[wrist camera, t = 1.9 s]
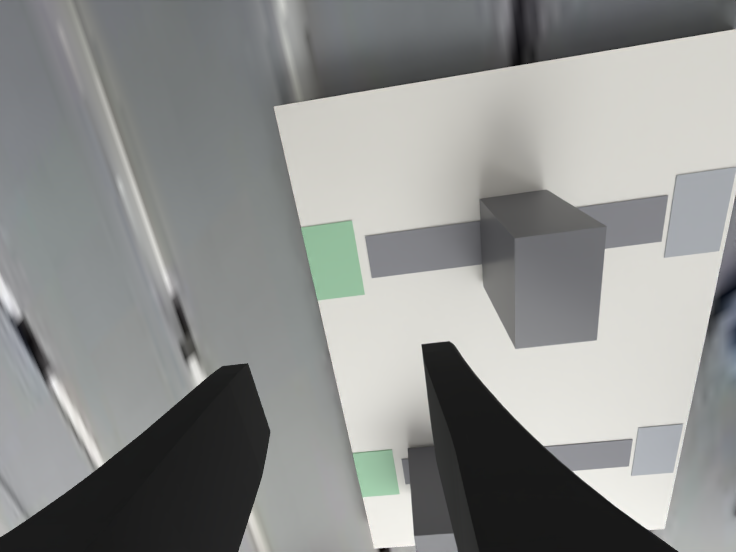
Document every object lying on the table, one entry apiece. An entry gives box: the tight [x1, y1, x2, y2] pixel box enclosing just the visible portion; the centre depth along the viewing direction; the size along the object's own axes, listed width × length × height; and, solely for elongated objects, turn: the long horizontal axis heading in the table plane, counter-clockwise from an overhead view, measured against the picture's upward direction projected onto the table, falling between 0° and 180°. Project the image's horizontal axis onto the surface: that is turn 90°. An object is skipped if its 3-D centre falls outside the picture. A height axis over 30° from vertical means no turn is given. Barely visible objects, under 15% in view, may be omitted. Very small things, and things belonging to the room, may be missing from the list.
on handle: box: [408, 446, 458, 552], centre depth 19 cm, size 2×4×4 cm, turn 9°
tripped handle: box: [479, 189, 607, 349], centre depth 14 cm, size 2×4×4 cm, turn 9°
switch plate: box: [274, 29, 736, 548], centre depth 19 cm, size 16×24×2 cm, turn 9°
